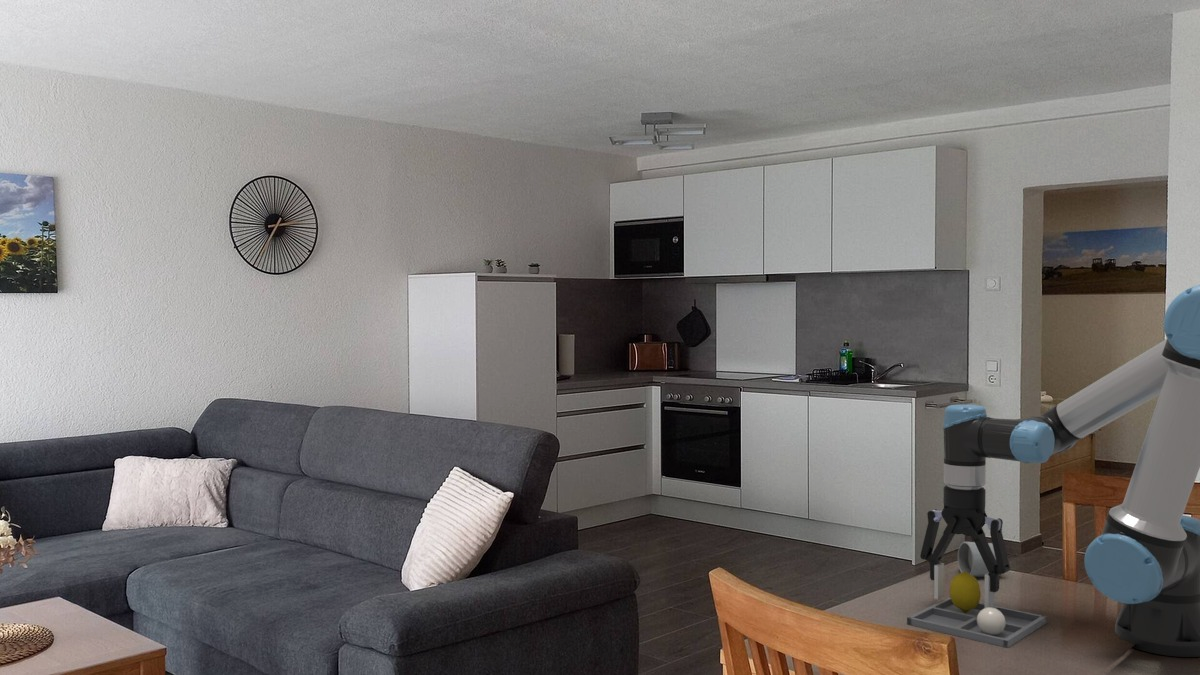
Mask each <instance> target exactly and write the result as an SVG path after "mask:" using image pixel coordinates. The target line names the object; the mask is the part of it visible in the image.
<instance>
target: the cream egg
mask: <svg viewBox="0 0 1200 675" xmlns="http://www.w3.org/2000/svg"><path fill="white" fill-rule="evenodd" d="M977 624H978V627H979V628H980V630H981V631H982V632H984V633H985V634H988V635H998V634H1000V633H1001V632H1002V631H1003V630H1004V628H1005V625H1006V621H1005V617H1004V615H1003V614H1002V613H1001V612H1000V611H999V610H998V609H995V608H992V607H988V608H984V609H982V610H981V611H980V612H979V613H978V616H977Z"/></svg>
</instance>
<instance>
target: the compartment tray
mask: <svg viewBox="0 0 1200 675" xmlns="http://www.w3.org/2000/svg"><path fill="white" fill-rule="evenodd" d="M984 608H985V602H980V601H979V603H978V605H977V606H976V607H975V608H974V609H972V610H969V611H968V612H967V613H963V612H962V610H961V609H959V608H957V607H956V606H955V605H954V604H953V602H952V601H951V598H950V596H948V597H947V598H944V599H943V600H940V601H938V602H936V603H934V604H932V605H930V606H928V607H926V608H924V609H922V610H920V611H918V612H916V613H914V614H912V615H910V616H908V617H906V625H909V626H913V627H916V628H921V629H926V630H929V631H933V632H937V633H943V634H947V635H951V636H955V637H959V638H963V639H967V640H972V641H977V642H980V643H984V644H985V643H986V644H989V645H992V646H993V645H994V646H998V647H1002V648H1006V649H1009V648H1010V647H1012V646H1013V645H1015V644H1017V643H1018V642H1020V641H1021V640H1023V639H1024V638H1026V637H1027V636H1029V635H1031V634H1032V633H1034V632H1035V631H1037V630H1038V629H1040V628H1042V627H1043V626H1044V625H1046V624H1047V623H1048V617H1047V615H1042V614H1036V613H1033V612H1028V611H1022V610H1017V609H1013V608H1007V607H1003V606H997V605H994V607H993V608H995V609H998V610H999V611H1000V612H1001V613H1002V614H1003V615H1004V617H1005V621H1006V625H1005V628H1004V630H1003V631H1002V632H1001V633H1000V634H998V635H988V634H985V633H984V632H982V631H981V630H980V628H979V627H978V624H977V616H978V613H979V612H980V611H981V610H982V609H984Z"/></svg>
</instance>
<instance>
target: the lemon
mask: <svg viewBox="0 0 1200 675" xmlns="http://www.w3.org/2000/svg"><path fill="white" fill-rule="evenodd" d="M981 594H982V592H981V587H980V584H979V581H978V580H977V577H974V576H972V575H971V574H968V573H967V572H966V571H963V572H962V573H961V572H960V573H958V574H956V575H954V577H952V579H951V582H950V585H949V597H950V598H951V601H952V602H953V604H954V605H955V606H956V607H957V608H959V609H961V610H962V612H963V613H967V612H968V611H969V610H972V609H974V608H975V607H976V606H977V605H978V603H979V602H980V600H981V597H982V596H981Z"/></svg>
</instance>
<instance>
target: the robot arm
mask: <svg viewBox="0 0 1200 675" xmlns="http://www.w3.org/2000/svg"><path fill="white" fill-rule="evenodd" d="M1163 318H1164V319H1163V330H1164V331H1163V332H1164V334H1165V336H1166V339H1164V340H1163V341H1161V342H1160V343H1157V344H1156V345H1154V346H1152V347H1151V348H1149V349H1147V350H1146V351H1144V352H1143V353H1140V355H1137V356H1135V357H1134V358H1133V359H1131V360H1129V361H1127V362H1126V363H1124V364H1122V365H1121V366H1119V367H1117V368H1116V369H1114V370H1113V371H1110V372H1109V373H1108V374H1106V375H1104V376H1102V377H1101V378H1099V379H1098V380H1096V381H1094V382H1093V383H1091V384H1089V385H1088V386H1086V387H1084V388H1083V389H1081V390H1079V391H1077V392H1076V393H1074V394H1073V395H1071V396H1070V397H1068V398H1066V399H1065V400H1062V401H1061V402H1060V403H1058V404H1057V405H1055V406H1052V407H1051V408H1049V409H1048V410H1045V412H1044V411H1043V413H1041V414H1038V415H1035V416H1029V417H1022V418H1018V419H1014V418H1013V419H1011V418H1010V419H1009V418H996V417H995V418H994V417H989V416H987V411H986V410H987V409H986V408H985V407H984V406H982V405H978V404H950V405H948V406H946V408H945V409H944V417H943V426H942V430H943V454H944V455H943V483H944V484H945V486H944V487H943V501H942V502H943V508H942V510H938V509H937V508H935V509H932V510H929V511H928V512H927V522H928V523H927V526H926V530H925V535H924V538H923V542H922V548H921V550H920V559H921V560H925V561H927V562H928V564H929V578H930V580H931V581H934V582H933V583H934V584H933V592H934V594H933V595H934V597H933V599H934V600H940V599H943V598H944V597H945V562H944V563H943V562H942V559H943V557H944V554H945V553H946V551H947V549H948V547H949V546H950V544H951V541H952V540H953V538H954V536H955V535H963V536H965V537H970V538H971V540H972V542H975V544H976V546H977V548H978V550H979V553H980V555H981V557H982V559H983V561H984V563H985V565H986V568H987V570H988V572H989V573H987V574H985V577H984V604H985V608H988V607H992V608H993V607H994V606H995V593H997V592H999V590H1000V576H1001V575H1002V574H1006V573H1008V572H1010V570H1011V565H1010V562H1009V557H1008V553H1007V549H1006V544H1005V541H1004V536H1003V531H1002V530H1003V522H1004V521H1003V519H1001V518H992V517H989V516H988V514H987V513H986V488H984V486H986V459H987V458H988V459H999V460H1005V461H1013V462H1022V464H1029V463H1032V464H1034V463H1035V464H1043V463H1046V462H1048V461H1049V459H1050V457H1052V455H1057V454H1061V453H1064V452H1065V451H1067V450H1069V449H1071V448H1072V447H1074V446H1075V444H1076V443H1077V442H1079V441H1080V440H1081V439H1084V438H1085V437H1087V436H1088V435H1090V434H1092V433H1094V432H1096V431H1098V430H1099V429H1101V428H1102V427H1104V426H1107V425H1108V424H1110V423H1112V422H1113V421H1115V420H1118V419H1119V418H1121V417H1123V416H1124V415H1126V414H1127V413H1130V412H1131V411H1134V410H1135V409H1137V408H1139V407H1140V406H1143V405H1144V404H1146V403H1148V402H1150V401H1151V400H1153V399H1156V398H1157V397H1158V399H1157V402H1156V405H1155V407H1154V410H1153V413H1152V417H1151V420H1150V422H1149V425H1148V429H1147V431H1146V433H1145V436H1144V439H1143V443H1142V444H1141V448H1140V451H1139V454H1138V457H1137V460H1136V463H1135V466H1134V469H1133V472H1132V475H1131V478H1130V480H1129V484H1128V487H1127V490H1126V493H1125V496H1124V498H1123V502H1122V503H1121V504H1118V505H1116V506H1113V507H1111V508H1110V509H1109V511H1108V513H1107V517H1106V520H1105V523H1104V525H1103V528H1102V532H1101V534H1100V535H1098V536H1097V537H1095V538H1094V539H1093V541H1090V544H1089V545H1088V546H1087V548H1086V550H1085V554H1084V560H1083V562H1084V569H1085V571H1086V574H1087V576H1088V578H1089V580H1090V581H1091V583H1092V585H1093V586H1094V587H1095V589H1096V590H1098V592H1100V593H1101V594H1103V595H1104V596H1105V597H1106V598H1108V599H1110V600H1112V601H1115V602H1117V603H1121V604H1122V605H1121V607H1120V611H1119V612H1118V615H1117V618H1116V621H1115V624H1114V633H1115V635H1116V636H1117V637H1118V638H1120V639H1122V640H1124V641H1125V642H1126V641H1127V642H1128V643H1131V644H1133V645H1132V646H1131V648H1132V649H1136V650H1139V651H1142V652H1146V653H1149V654H1150V653H1152V654H1156V655H1160V656H1161V655H1162V656H1168V657H1178V658H1179V657H1180V658H1197V657H1200V519H1198V518H1196V517H1193V516H1188V515H1184V514H1185V510H1186V508H1187V504H1188V501H1189V499H1190V496H1191V493H1192V491H1193V488H1194V485H1195V481H1196V479H1197V477H1198V474H1199V470H1200V284H1197V285H1195V286H1194V285H1193V286H1192V287H1189V288H1186V289H1185V290H1184V291H1182V292H1180V293H1179V294H1178V295H1176V296H1175V298H1174V299H1173V300H1172V301H1171V302H1170V304H1169V305H1168V307H1167V309H1166V311H1165V313H1164V317H1163ZM942 518H943V520H944V522H945V523H946V526H945V529H944V530H943V532H942V533H943V534H942V535H941V537H940V539H939V541H938V543H937V545H936V547H935V543H936V539H937V534H938V530H939V527H940V521H942ZM985 525H987V529H988V530H989V533H990V534H989V535H990V539H991V543H992V544H993V548H994V553H995V557H996V559H995V557H994V555H993V553H992V551H991V549H990V546H989V544H988V543H989V542H988V541H987V538H986V533H985V531H984V529H983V527H984V526H985ZM934 547H935V548H934ZM1000 574H1001V575H1000Z"/></svg>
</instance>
